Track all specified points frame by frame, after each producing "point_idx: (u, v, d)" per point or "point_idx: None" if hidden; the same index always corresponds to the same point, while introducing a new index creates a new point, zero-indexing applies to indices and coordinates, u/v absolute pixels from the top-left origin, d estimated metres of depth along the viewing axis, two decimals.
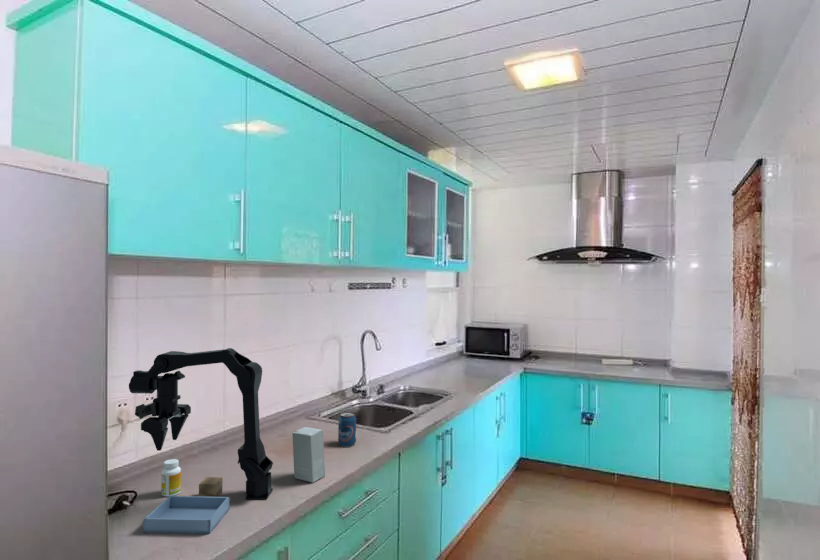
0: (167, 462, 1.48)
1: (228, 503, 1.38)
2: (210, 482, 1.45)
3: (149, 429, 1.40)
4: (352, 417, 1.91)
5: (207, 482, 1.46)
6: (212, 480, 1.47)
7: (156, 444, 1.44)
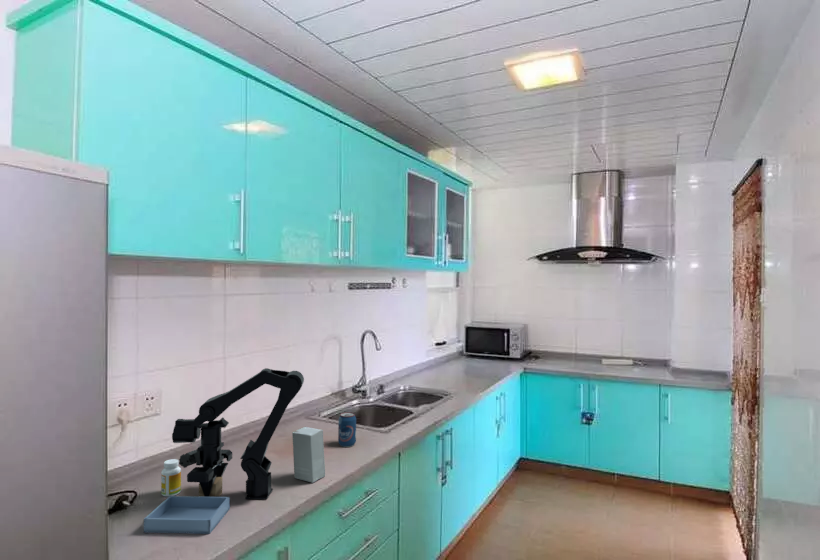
0: (167, 462, 1.48)
1: (228, 503, 1.38)
2: None
3: (195, 481, 1.37)
4: (352, 417, 1.91)
5: None
6: None
7: (204, 491, 1.43)
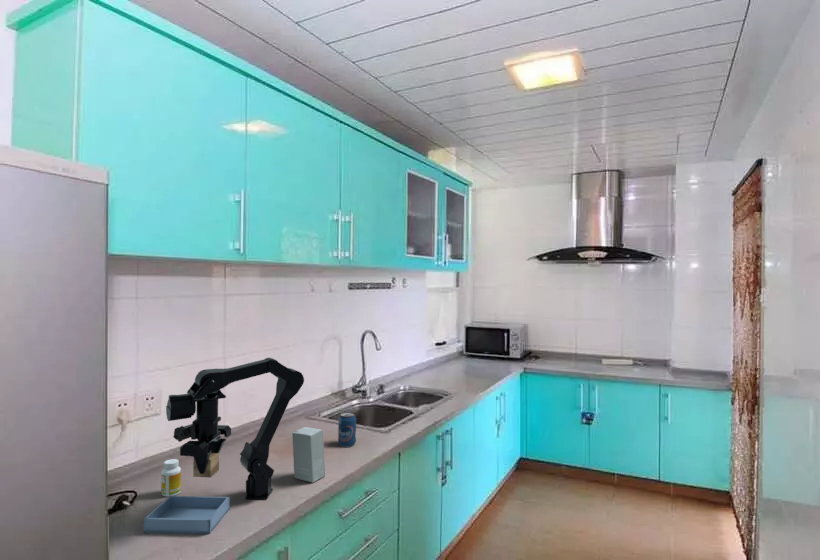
0: (167, 462, 1.48)
1: (228, 503, 1.38)
2: None
3: (188, 454, 1.30)
4: (352, 417, 1.91)
5: None
6: None
7: (199, 467, 1.36)
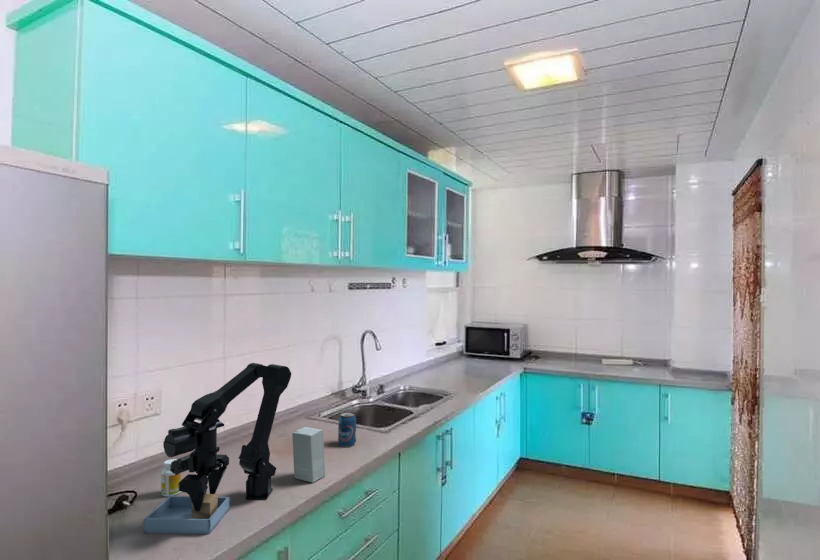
0: (167, 462, 1.48)
1: (228, 503, 1.38)
2: None
3: (188, 490, 1.24)
4: (353, 417, 1.91)
5: None
6: (206, 498, 1.34)
7: (195, 505, 1.28)
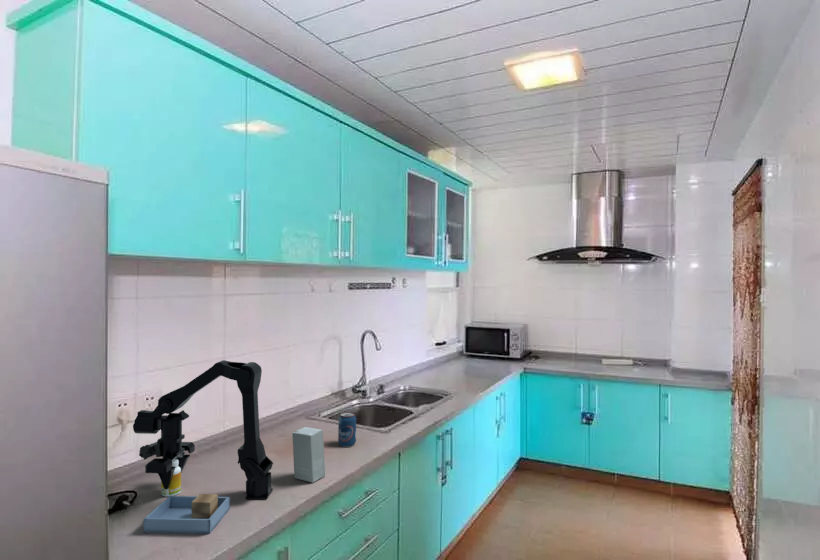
0: None
1: (228, 503, 1.38)
2: (203, 500, 1.32)
3: (153, 472, 1.40)
4: (353, 417, 1.91)
5: (200, 499, 1.33)
6: (206, 498, 1.34)
7: (163, 483, 1.45)
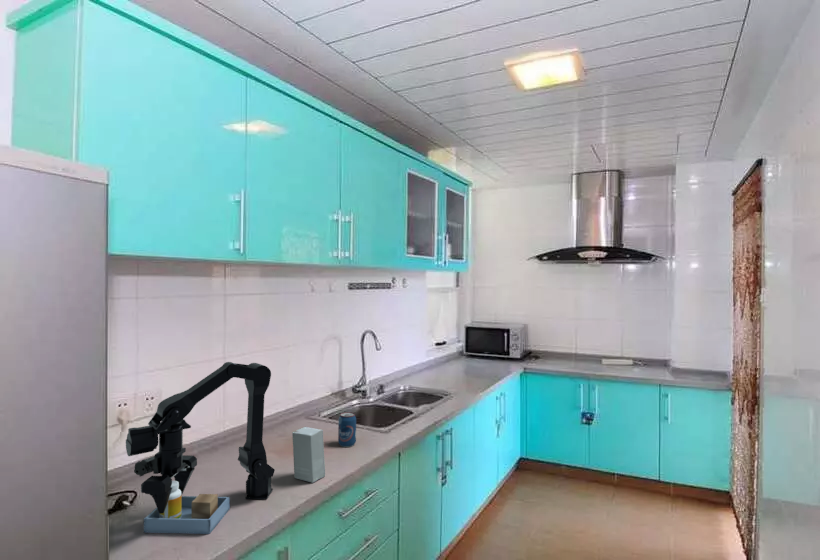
0: None
1: (228, 503, 1.38)
2: (203, 500, 1.32)
3: (150, 491, 1.22)
4: (353, 417, 1.91)
5: (200, 499, 1.33)
6: (206, 498, 1.34)
7: (158, 506, 1.26)
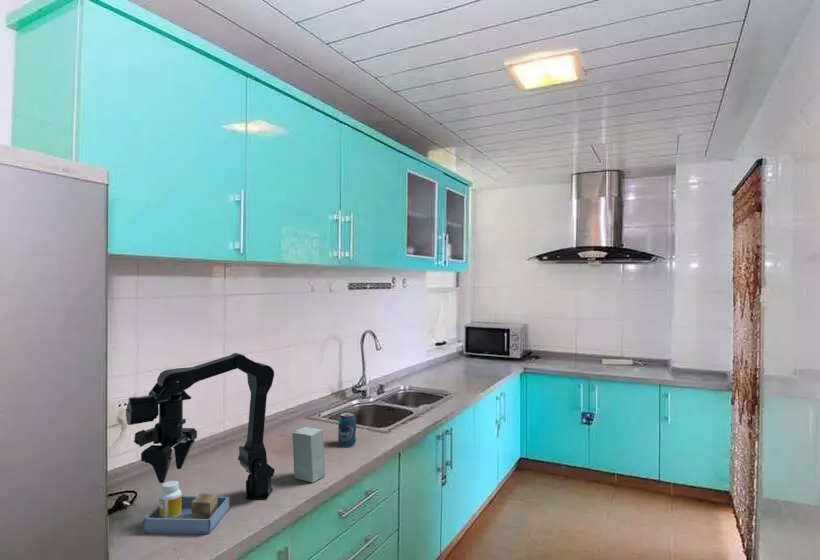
0: (166, 484, 1.31)
1: (228, 503, 1.38)
2: (203, 500, 1.32)
3: (150, 460, 1.22)
4: (352, 417, 1.91)
5: (200, 499, 1.33)
6: (206, 498, 1.34)
7: (158, 476, 1.26)
